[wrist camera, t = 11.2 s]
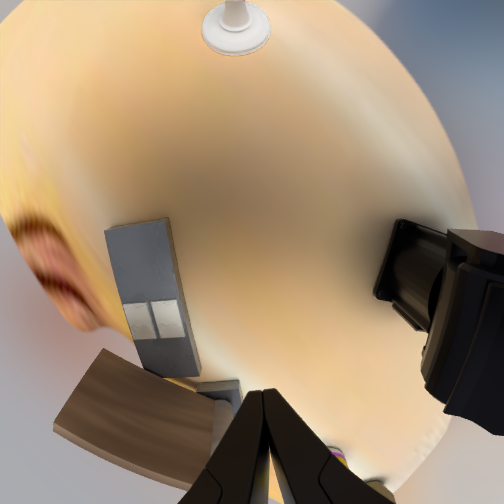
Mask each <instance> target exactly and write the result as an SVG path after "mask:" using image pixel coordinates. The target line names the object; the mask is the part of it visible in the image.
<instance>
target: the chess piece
mask: <svg viewBox="0 0 504 504" xmlns="http://www.w3.org/2000/svg"><path fill="white" fill-rule="evenodd" d="M270 33H271V26H270V21H269V18H268V16H267V14H266V13H265V12H264V11H263V10H262V9H261V8H259V7H258V6H256V5H254V4H251V3H248V2H245V0H226V2H225V3H223V4H220V5H218V6H216V7H215V8H213V9H212V10H211V11H210V12H209V13H208V14H207V15H206V16H205V18H204V20H203V23H202V36H203V39H204V41H205V43H206V44H207V45H208V46H209V47H210V48H211V49H213V50H214V51H216V52H218V53H221V54H224V55H229V56H241V55H246V54H250V53H252V52H255V51H257V50H258V49H260V48H261V47H262V46H263V45H264V44H265V43H266V42H267V40H268V39H269V36H270Z"/></svg>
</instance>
